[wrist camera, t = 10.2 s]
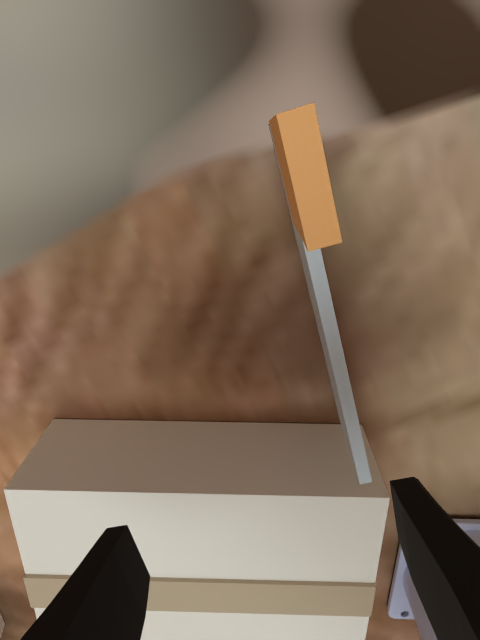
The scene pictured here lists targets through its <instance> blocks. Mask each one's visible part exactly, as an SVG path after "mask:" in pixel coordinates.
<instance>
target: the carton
mask: <svg viewBox="0 0 480 640" xmlns="http://www.w3.org/2000/svg"><path fill="white" fill-rule="evenodd" d="M360 429H361V434H362V438H363V443H364V447H365V452H366V456H367V461H368V465H369V470H370V474H371V479H372V482H370V483H365V484H360V483H359V480H358V477H357V474H356V471H355V467H354V464H353V461H352V458H351V455H350V451H349V448H348V445H347V442H346V439H345V435H344V432H343V429H342V426H341V424H300V423H245V422H191V421H137V420H83V419H53V420H52V422H51V423H50V424H49V426H48V427H47V429H46V430H45V432H44V433H43V434H42V436H41V437H40V439H39V440H38V441H37V443H36V444H35V446H34V447H33V449H32V450H31V451H30V453H29V454H28V456H27V457H26V459H25V460H24V461H23V463H22V464H21V466H20V467H19V469H18V470H17V471H16V473H15V474H14V476H13V477H12V478H11V480H10V481H9V483H8V484H7V486H6V487H5V488H4V493H5V497H6V500H7V504H8V508H9V512H10V516H11V520H12V524H13V528H14V532H15V536H16V539H17V543H18V547H19V551H20V555H21V559H22V563H23V567H24V571H25V576H24V578H23V579H24V583H25V587H26V590H27V594H28V598H29V602H30V606H31V608H34V610H35V614H36V618H37V619H38V618H39V616H40V615H41V614H42V613H43V611H44V610H45V609H46V608H47V606H48V605H49V604H50V603H51V601H52V600H53V599H54V598H55V596H56V595H57V594H58V592H59V591H60V590H61V588H62V587H63V586H64V584H65V583H66V582H67V580H68V579H69V578H70V576H71V575H72V574H73V573H74V571H75V570H76V568H77V567H78V566H79V564H80V563H81V562H82V560H83V559H84V558H85V556H86V555H87V554H88V552H89V551H90V549H91V548H92V547H93V545H94V544H95V543H96V541H97V540H98V539H99V537H100V536H101V535H102V534H103V532H104V531H105V530H106V528H110V527H116V526H122V525H128V528H129V530H130V532H131V534H132V537H133V539H134V541H135V543H136V545H137V548H138V550H139V552H140V554H141V557H142V559H143V561H144V563H145V565H146V568H147V570H148V572H149V574H150V584H149V593H148V602H147V609H146V617H145V621H144V626H143V630H142V635H141V639H140V640H365V637H366V631H367V626H368V620H369V617H371V613H372V608H373V602H374V596H375V591H376V585H375V580H376V574H377V569H378V563H379V557H380V551H381V546H382V540H383V534H384V529H385V523H386V517H387V511H388V506H389V500H390V497H389V494H388V492H387V489H386V487H385V484H384V481H383V479H382V476H381V474H380V471H379V468H378V466H377V463H376V461H375V458H374V455H373V453H372V450H371V448H370V445H369V442H368V440H367V437H366V435H365V432H364V429H363V427H362V425H360Z"/></svg>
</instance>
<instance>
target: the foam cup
mask: <svg viewBox="0 0 480 640" xmlns="http://www.w3.org/2000/svg"><path fill="white" fill-rule="evenodd" d="M4 625H5V623H4V620H3V618H2V616H1V613H0V638H1V636H2V633H3V629H4Z"/></svg>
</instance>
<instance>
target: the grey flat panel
mask: <svg viewBox="0 0 480 640" xmlns="http://www.w3.org/2000/svg"><path fill="white" fill-rule="evenodd" d="M269 129H270V133H271V137H272V141H273V145H274V149H275V154H276V158H277V162H278V166H279V170H280V174H281V179H282V183H283V187H284V191H285V195H286V199H287V204H288V208H289V212H290V216H291V220H292V224H293V228H294V233H295V237H296V241H297V245H298V249H299V253H300V258H301V262H302V266H303V270H304V274H305V278H306V283H307V287H308V291H309V295H310V299H311V303H312V308H313V312H314V316H315V320H316V324H317V328H318V332H319V337H320V341H321V345H322V349H323V353H324V357H325V362H326V366H327V370H328V374H329V378H330V382H331V387H332V391H333V395H334V399H335V403H336V407H337V412H338V416H339V419H340V423H341V426H342V429H343V432H344V435H345V439H346V442H347V445H348V448H349V451H350V455H351V458H352V461H353V464H354V467H355V471H356V474H357V477H358V480H359V483H360V484H365V483H370V482H372V479H371V474H370V470H369V465H368V461H367V456H366V452H365V447H364V443H363V438H362V434H361V429H360V425H359V420H358V416H357V411H356V406H355V402H354V397H353V393H352V388H351V384H350V379H349V375H348V370H347V366H346V361H345V357H344V352H343V348H342V343H341V339H340V334H339V330H338V325H337V321H336V316H335V312H334V307H333V303H332V298H331V293H330V289H329V284H328V280H327V275H326V271H325V266H324V262H323V257H322V253H321V248H324V247H327V246H331V245H335V244H339V243H342V238H341V233H340V228H339V223H338V218H337V213H336V208H335V204H334V199H333V194H332V189H331V184H330V179H329V174H328V169H327V164H326V159H325V154H324V149H323V144H322V139H321V134H320V129H319V124H318V119H317V114H316V109H315V104H314V103H311V104H308V105H305V106H301V107H298V108H295V109H292V110H289V111H286V112H282V113H279V114H276V115H275V116H274V117H273V118H272V119H271V120H270V121H269Z"/></svg>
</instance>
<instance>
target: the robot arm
mask: <svg viewBox="0 0 480 640" xmlns="http://www.w3.org/2000/svg"><path fill="white" fill-rule="evenodd" d="M390 486H391V493H392V499H393V506H394V512H395V519H396V526H397V532H398V539H399V542H400V544H399V550H398V555H397V560H396V565H395V570H394V575H393V580H392V585H391V590H390V595H389V601H388V606H387V611H388V615H389V616H390V617H391V618H394V619H415V622H416V625H417V628H418V631H419V634H420V637H421V640H480V519H452V518H451V517H450V516H449V515H448V514H447V513H446V512H445V511H444V510H443V508H442V507H441V506H440V505H439V504H438V503H437V502H436V501H435V499H434V498H433V497H432V496H431V495H430V494H429V492H428V491H427V490H426V489H425V487H424V486H423V485H422V484H421V482H420V481H419V480H418V479H417V478H415V477H410V478H404V479H398V480H392V481H390ZM149 584H150V574H149V572H148V570H147V568H146V565H145V563H144V561H143V559H142V557H141V554H140V552H139V550H138V548H137V545H136V543H135V541H134V539H133V537H132V534H131V532H130V530H129V528H128V525H122V526H116V527H110V528H106V530H105V531H104V532H103V534H102V535H101V536H100V537H99V539H98V540H97V541H96V543H95V544H94V545H93V547H92V548H91V549H90V551H89V552H88V554H87V555H86V556H85V558H84V559H83V560H82V562H81V563H80V564H79V566H78V567H77V568H76V570H75V571H74V573H73V574H72V575H71V576H70V578H69V579H68V580H67V582H66V583H65V584H64V586H63V587H62V588H61V590H60V591H59V592H58V594H57V595H56V596H55V598H54V599H53V600H52V601H51V603H50V604H49V605H48V606H47V608H46V609H45V610H44V611H43V613H42V614H41V615H40V616H39V618H38V619H37V620H36V621H35V622H34V624H33V625H32V626H31V627H30V629H29V630H28V631H27V632H26V633H25V635H24V636H23V637H22V638H21V640H140V639H141V635H142V630H143V626H144V621H145V617H146V609H147V602H148V593H149Z"/></svg>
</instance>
